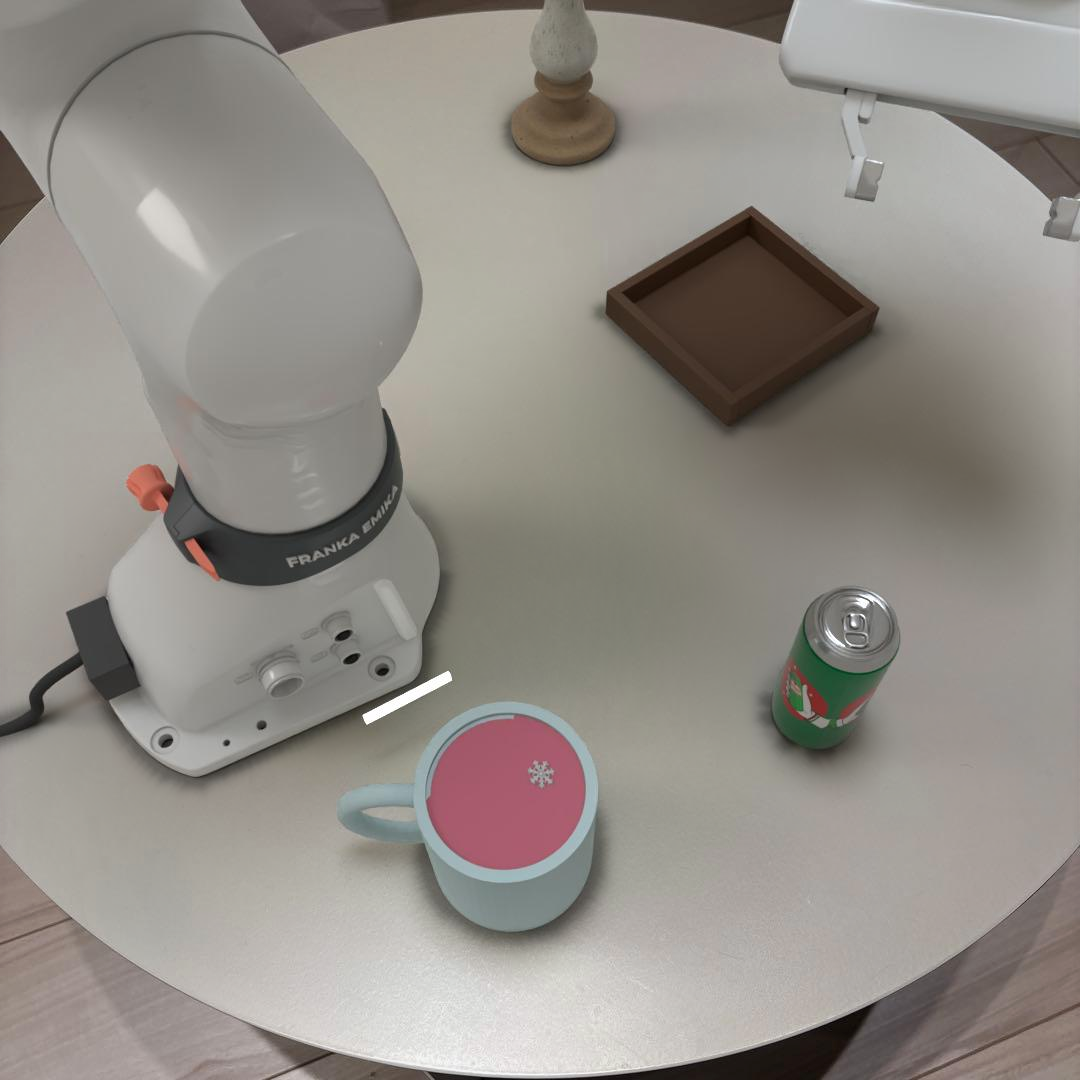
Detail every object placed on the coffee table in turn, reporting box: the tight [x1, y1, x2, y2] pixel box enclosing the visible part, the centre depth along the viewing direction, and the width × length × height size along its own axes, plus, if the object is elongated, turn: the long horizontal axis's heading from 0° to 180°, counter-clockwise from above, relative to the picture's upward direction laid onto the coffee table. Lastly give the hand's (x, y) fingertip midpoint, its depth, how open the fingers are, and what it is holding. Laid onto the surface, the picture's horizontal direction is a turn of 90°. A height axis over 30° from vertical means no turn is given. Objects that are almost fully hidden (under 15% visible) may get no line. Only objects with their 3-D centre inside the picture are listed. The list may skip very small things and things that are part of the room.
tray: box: [605, 205, 880, 427], centre depth 85 cm, size 15×14×2 cm
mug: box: [335, 701, 599, 933], centre depth 61 cm, size 14×9×10 cm
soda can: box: [771, 585, 901, 750], centre depth 64 cm, size 5×5×12 cm
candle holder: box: [510, 0, 616, 166], centre depth 88 cm, size 9×9×20 cm
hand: (958, 218), depth 54 cm, fingers open, 8 cm apart
